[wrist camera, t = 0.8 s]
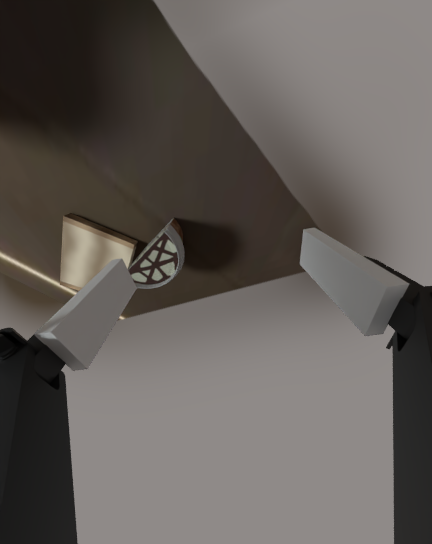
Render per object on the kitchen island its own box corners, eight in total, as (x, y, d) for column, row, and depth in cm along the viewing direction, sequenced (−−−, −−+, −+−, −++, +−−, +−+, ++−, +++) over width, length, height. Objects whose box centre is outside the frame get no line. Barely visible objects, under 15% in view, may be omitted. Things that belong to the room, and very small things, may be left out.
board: (66, 279, 38) (59, 284, 37) (70, 213, 31) (63, 215, 29) (121, 297, 41) (118, 303, 40) (137, 241, 34) (134, 244, 32)
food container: (163, 272, 38) (149, 303, 29) (139, 253, 36) (116, 281, 27) (203, 235, 34) (200, 259, 25) (179, 211, 31) (167, 228, 23)
